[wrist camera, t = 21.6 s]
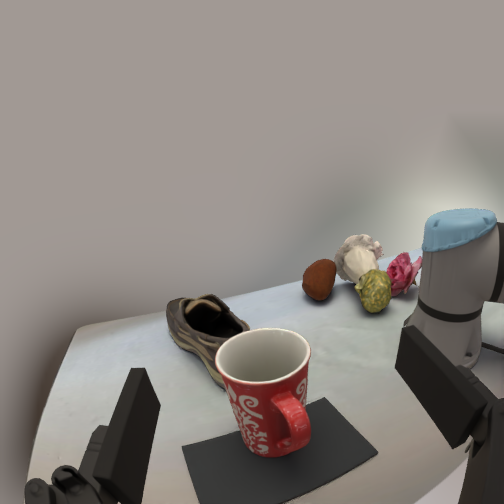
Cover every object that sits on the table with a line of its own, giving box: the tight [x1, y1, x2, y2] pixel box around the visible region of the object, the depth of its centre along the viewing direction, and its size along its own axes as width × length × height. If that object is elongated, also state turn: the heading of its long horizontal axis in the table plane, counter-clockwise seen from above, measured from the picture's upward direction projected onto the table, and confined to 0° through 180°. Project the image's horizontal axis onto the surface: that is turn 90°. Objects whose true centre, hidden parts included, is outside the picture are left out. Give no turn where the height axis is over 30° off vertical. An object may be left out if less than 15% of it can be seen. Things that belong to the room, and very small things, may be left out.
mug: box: [215, 328, 311, 457], centre depth 26 cm, size 13×9×14 cm
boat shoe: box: [166, 294, 250, 389], centre depth 49 cm, size 11×29×11 cm, turn 38°
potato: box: [302, 259, 337, 300], centre depth 66 cm, size 8×12×8 cm
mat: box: [182, 397, 378, 504], centre depth 27 cm, size 20×12×1 cm, turn 111°
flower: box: [386, 252, 422, 296], centre depth 60 cm, size 11×10×10 cm
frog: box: [334, 234, 391, 313], centre depth 60 cm, size 12×13×18 cm
